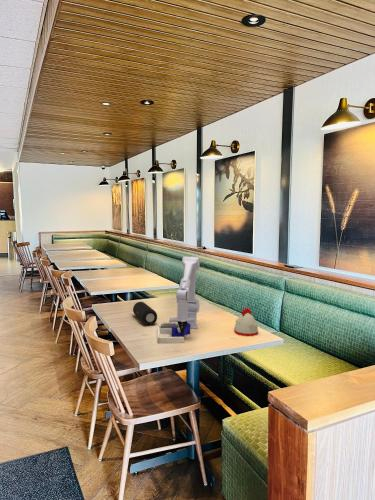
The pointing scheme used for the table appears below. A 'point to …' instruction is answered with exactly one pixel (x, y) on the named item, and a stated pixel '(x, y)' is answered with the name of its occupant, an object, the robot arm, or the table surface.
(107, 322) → the table surface
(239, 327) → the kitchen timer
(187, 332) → the cable clip
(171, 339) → the beige tray
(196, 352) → the table surface
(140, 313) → the portable speaker
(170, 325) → the seated twin plug
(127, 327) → the table surface
